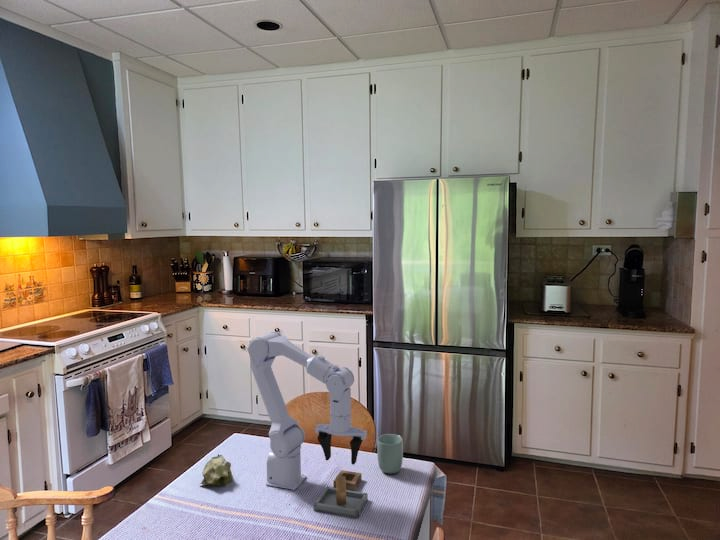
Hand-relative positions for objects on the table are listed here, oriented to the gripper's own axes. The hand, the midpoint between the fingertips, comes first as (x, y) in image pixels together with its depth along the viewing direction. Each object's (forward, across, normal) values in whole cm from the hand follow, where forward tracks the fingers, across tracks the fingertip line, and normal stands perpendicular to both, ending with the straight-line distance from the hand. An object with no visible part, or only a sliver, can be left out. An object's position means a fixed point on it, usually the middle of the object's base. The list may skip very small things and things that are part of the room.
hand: (340, 460), depth 133 cm
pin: (+9, -2, +5) cm, 10 cm away
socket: (+10, 0, -6) cm, 12 cm away
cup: (+10, -9, -17) cm, 22 cm away
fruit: (+10, +37, +4) cm, 39 cm away
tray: (+10, -2, +5) cm, 11 cm away
